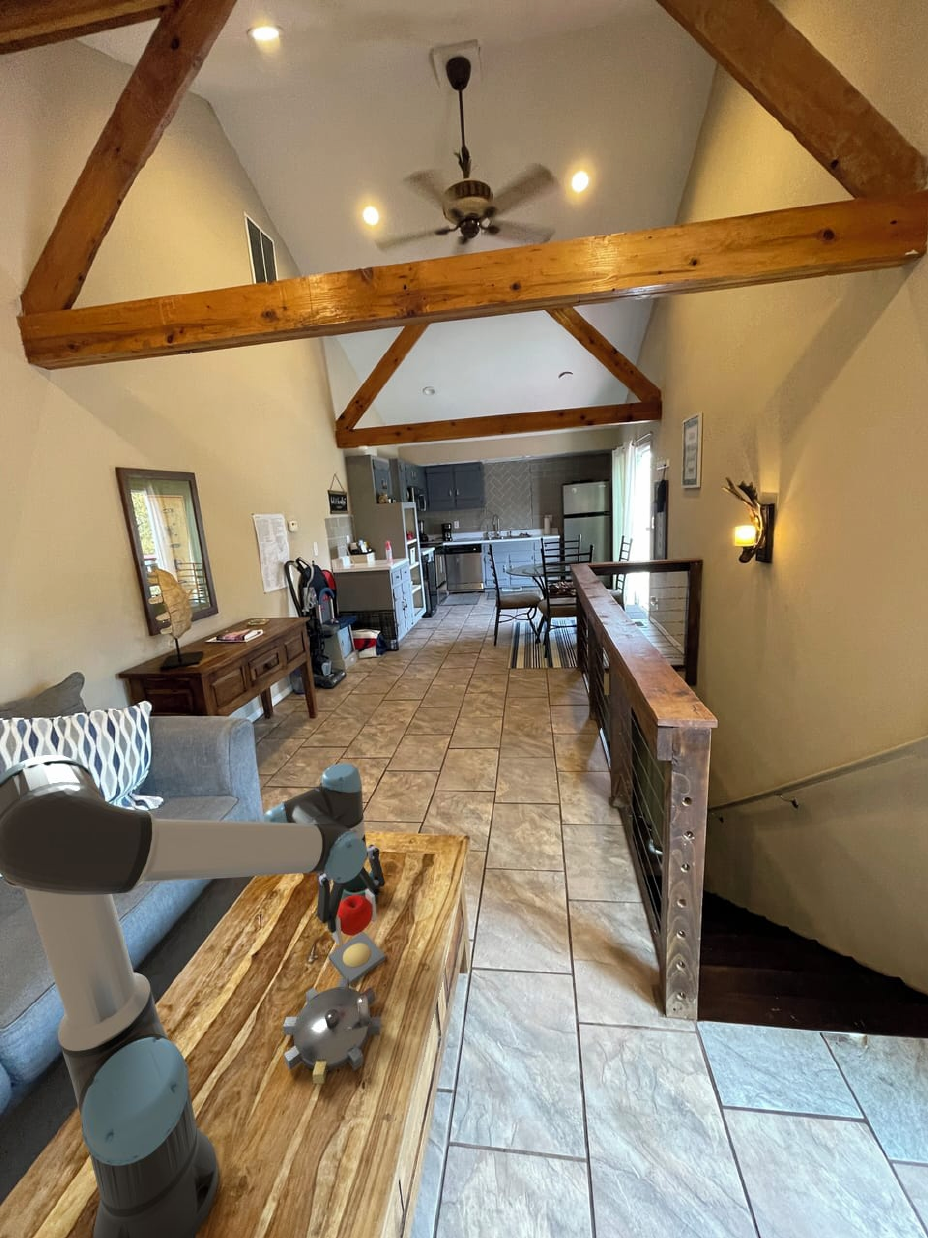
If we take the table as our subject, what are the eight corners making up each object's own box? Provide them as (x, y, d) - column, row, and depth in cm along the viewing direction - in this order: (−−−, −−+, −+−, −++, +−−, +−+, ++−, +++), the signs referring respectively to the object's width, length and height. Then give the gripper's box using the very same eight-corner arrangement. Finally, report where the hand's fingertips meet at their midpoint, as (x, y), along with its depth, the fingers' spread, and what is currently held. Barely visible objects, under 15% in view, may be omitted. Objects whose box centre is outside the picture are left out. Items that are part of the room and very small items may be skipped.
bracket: (381, 903, 127) (379, 872, 125) (345, 918, 122) (343, 886, 121) (369, 881, 135) (367, 851, 133) (335, 895, 130) (332, 864, 128)
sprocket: (371, 1083, 86) (368, 1051, 85) (266, 1083, 87) (262, 1051, 85) (388, 986, 104) (386, 957, 102) (301, 986, 104) (298, 958, 103)
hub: (327, 1058, 91) (325, 1038, 90) (311, 1034, 96) (309, 1015, 95) (355, 1034, 95) (354, 1015, 94) (339, 1012, 100) (337, 994, 99)
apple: (356, 951, 104) (353, 922, 103) (328, 936, 108) (325, 907, 107) (381, 923, 111) (378, 895, 109) (354, 910, 115) (351, 882, 113)
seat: (350, 985, 105) (349, 981, 105) (328, 959, 111) (328, 954, 111) (385, 959, 111) (385, 955, 111) (363, 935, 117) (363, 931, 117)
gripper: (308, 872, 95) (319, 970, 100) (398, 823, 109) (403, 912, 114) (291, 853, 100) (302, 947, 105) (378, 808, 114) (384, 894, 119)
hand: (355, 929), depth 110 cm, fingers closed on apple, 8 cm apart
